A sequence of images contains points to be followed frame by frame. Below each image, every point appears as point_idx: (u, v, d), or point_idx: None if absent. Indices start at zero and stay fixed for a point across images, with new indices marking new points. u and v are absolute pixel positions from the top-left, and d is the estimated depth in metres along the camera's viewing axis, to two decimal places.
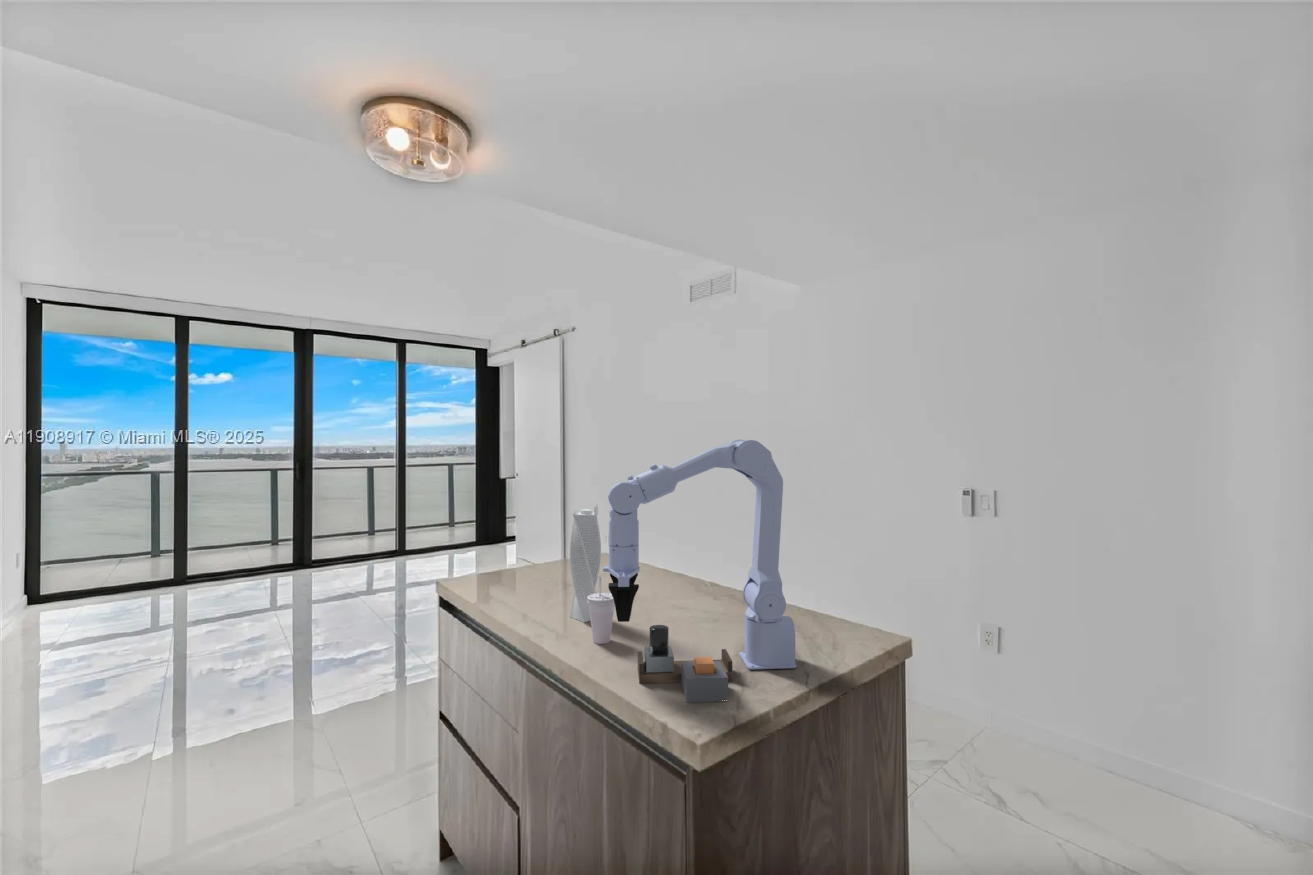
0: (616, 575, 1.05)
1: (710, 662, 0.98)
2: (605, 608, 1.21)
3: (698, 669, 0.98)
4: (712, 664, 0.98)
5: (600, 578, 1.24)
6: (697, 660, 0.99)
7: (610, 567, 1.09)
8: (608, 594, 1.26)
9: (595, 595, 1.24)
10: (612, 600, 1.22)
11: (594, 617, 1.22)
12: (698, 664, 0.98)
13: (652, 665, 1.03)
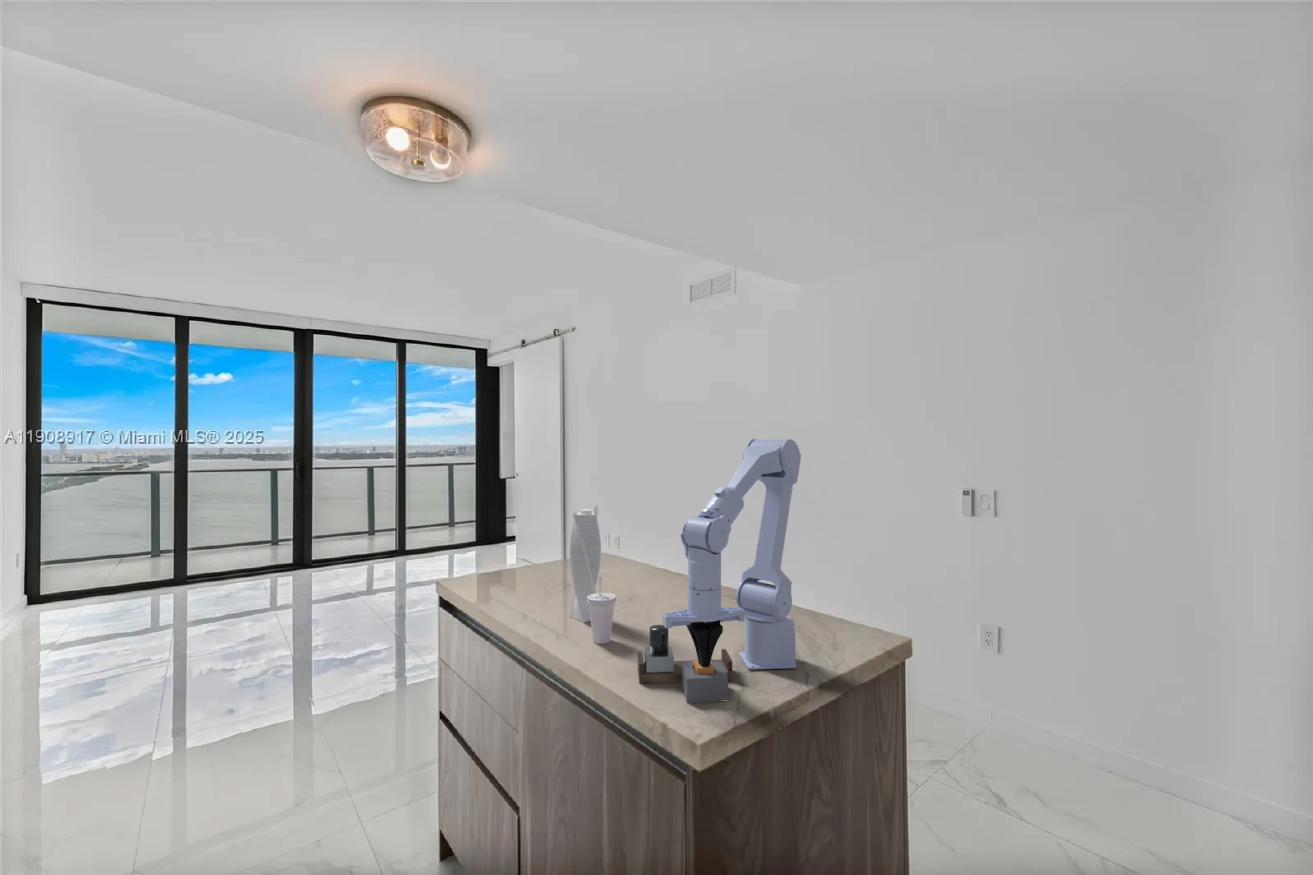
0: None
1: (710, 666, 0.98)
2: (605, 608, 1.21)
3: (698, 673, 0.98)
4: (712, 668, 0.98)
5: (600, 578, 1.24)
6: (697, 664, 0.99)
7: None
8: (608, 594, 1.26)
9: (595, 595, 1.24)
10: (612, 600, 1.22)
11: (594, 617, 1.22)
12: (698, 668, 0.98)
13: (652, 665, 1.03)
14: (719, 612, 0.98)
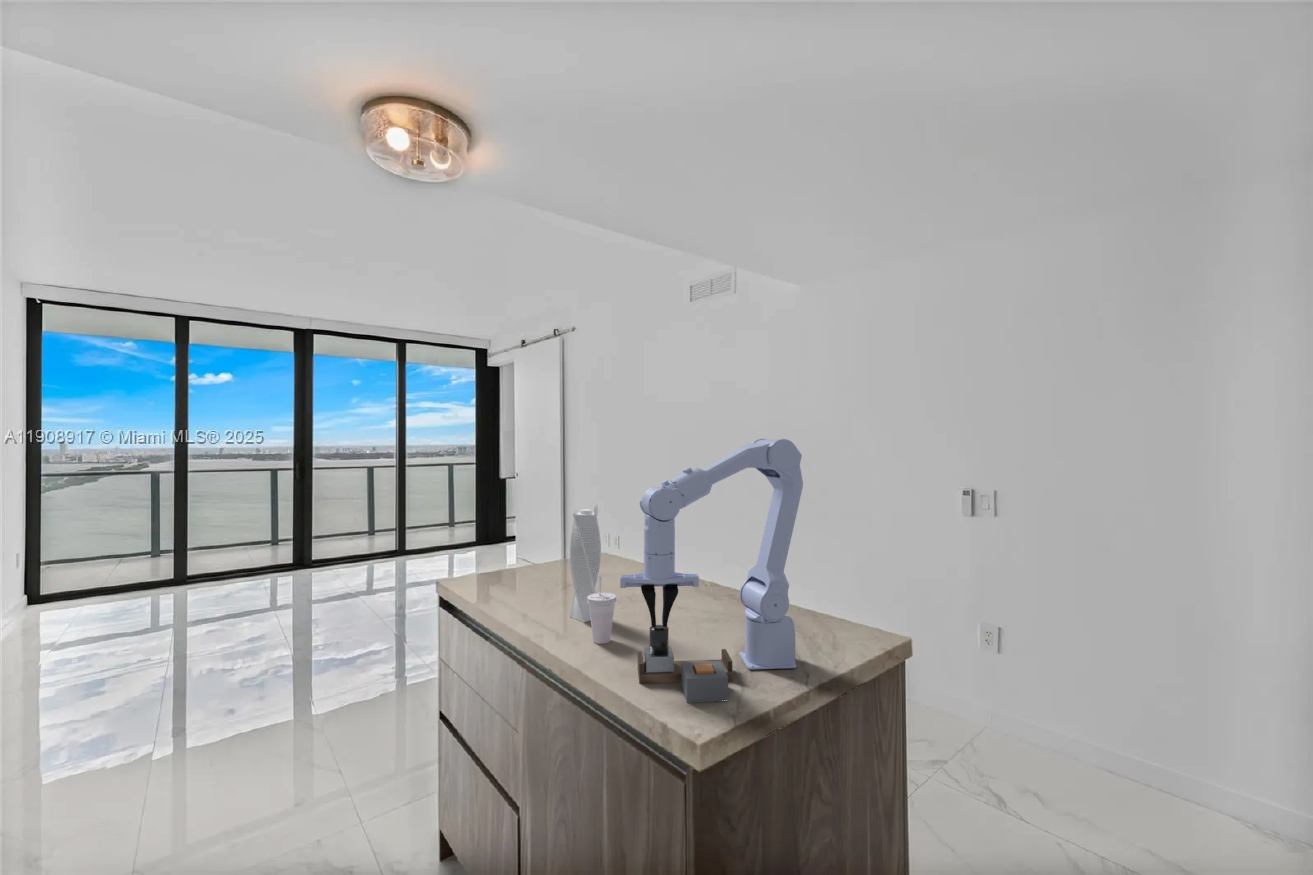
0: None
1: (710, 669, 0.98)
2: (605, 608, 1.21)
3: None
4: (712, 671, 0.98)
5: (600, 578, 1.24)
6: (697, 667, 0.99)
7: None
8: (608, 594, 1.26)
9: (595, 595, 1.24)
10: (612, 600, 1.22)
11: (594, 617, 1.22)
12: (698, 671, 0.98)
13: (652, 665, 1.03)
14: (671, 576, 1.04)
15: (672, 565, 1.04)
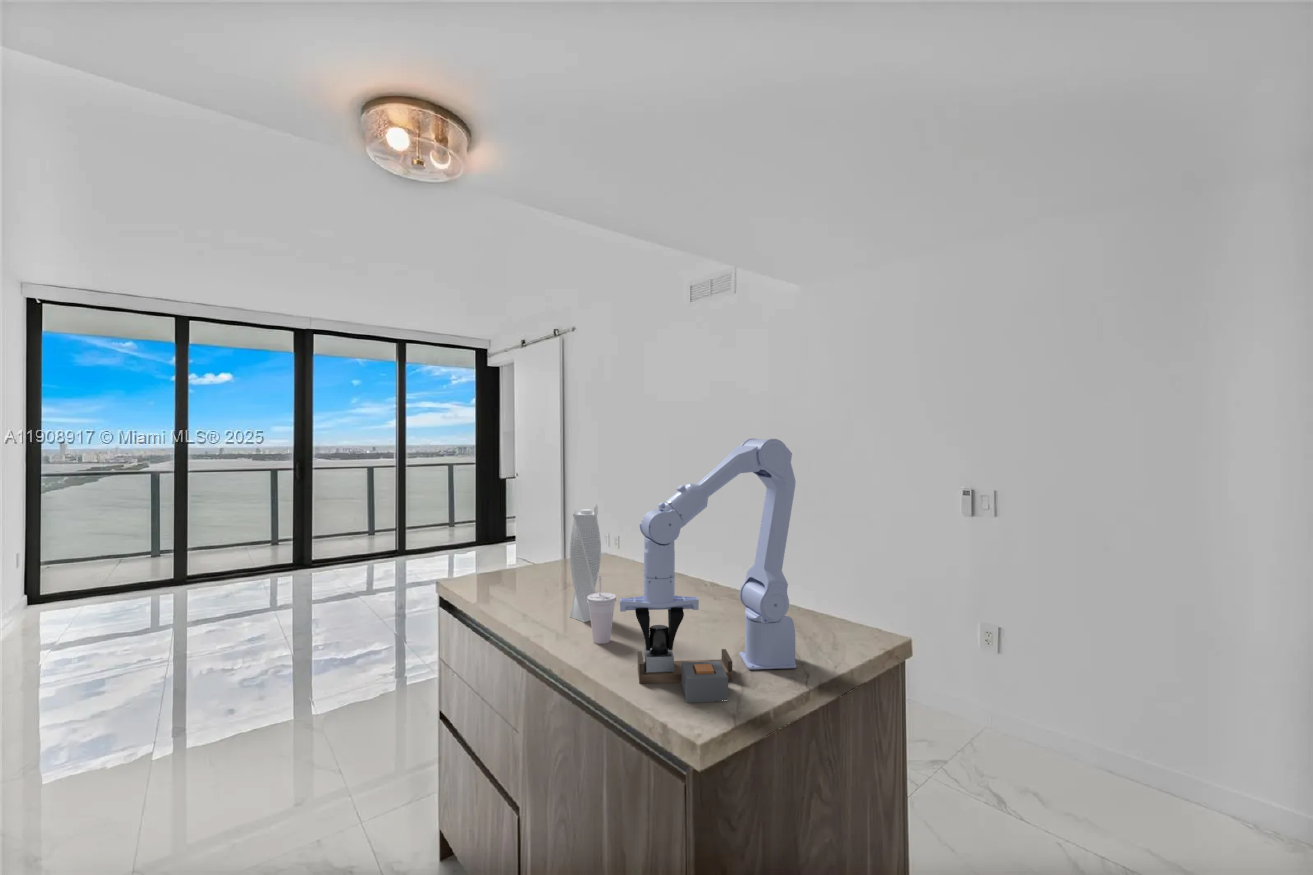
0: None
1: (710, 669, 0.98)
2: (605, 608, 1.21)
3: None
4: (712, 671, 0.98)
5: (600, 578, 1.24)
6: (697, 667, 0.99)
7: None
8: (608, 594, 1.26)
9: (595, 595, 1.24)
10: (612, 600, 1.22)
11: (594, 617, 1.22)
12: (698, 671, 0.98)
13: (652, 665, 1.03)
14: (671, 600, 1.04)
15: (672, 588, 1.04)
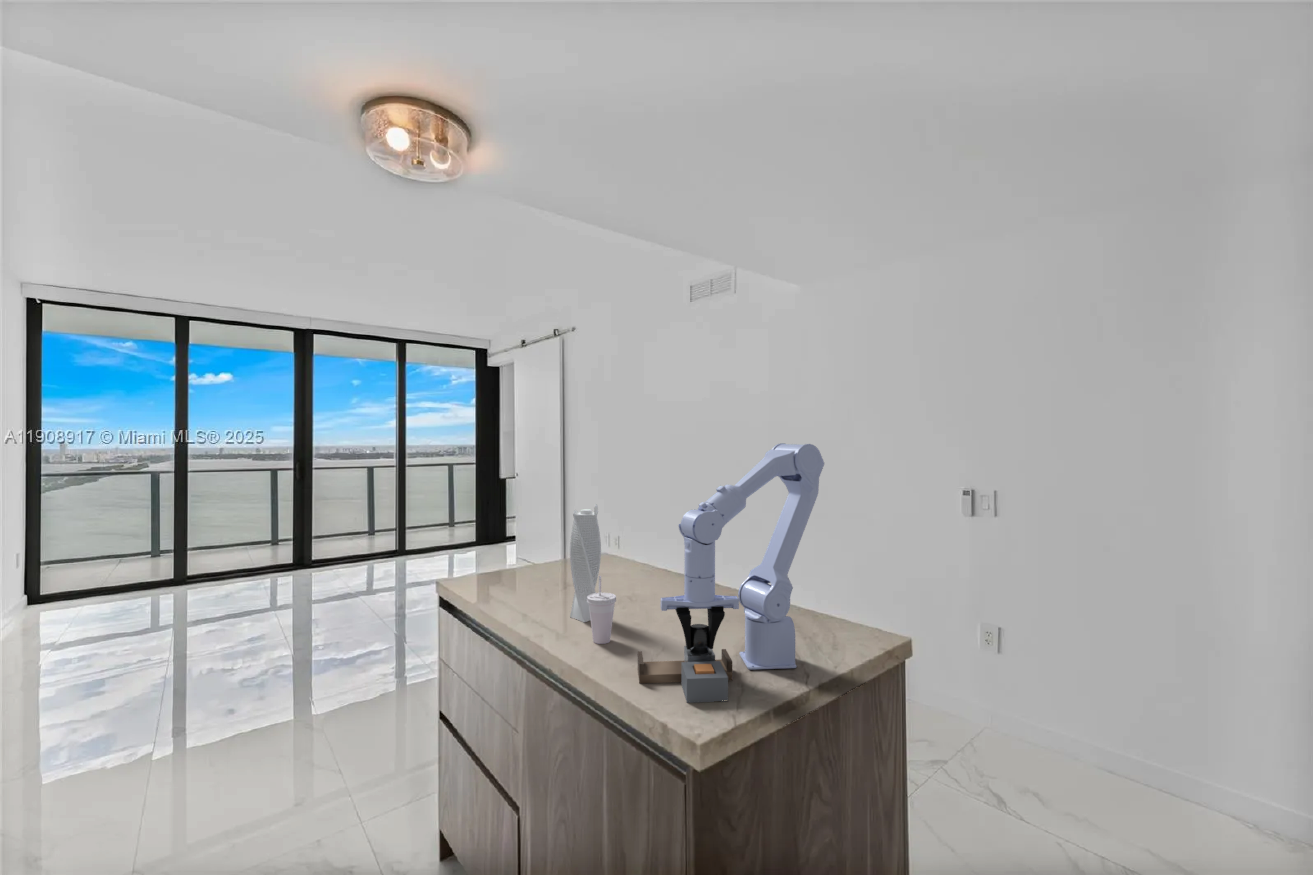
0: None
1: (710, 669, 0.98)
2: (605, 608, 1.21)
3: None
4: (712, 671, 0.98)
5: (600, 578, 1.24)
6: (697, 667, 0.99)
7: None
8: (608, 594, 1.26)
9: (595, 595, 1.24)
10: (612, 600, 1.22)
11: (594, 617, 1.22)
12: (698, 671, 0.98)
13: None
14: (712, 599, 1.05)
15: (713, 588, 1.05)
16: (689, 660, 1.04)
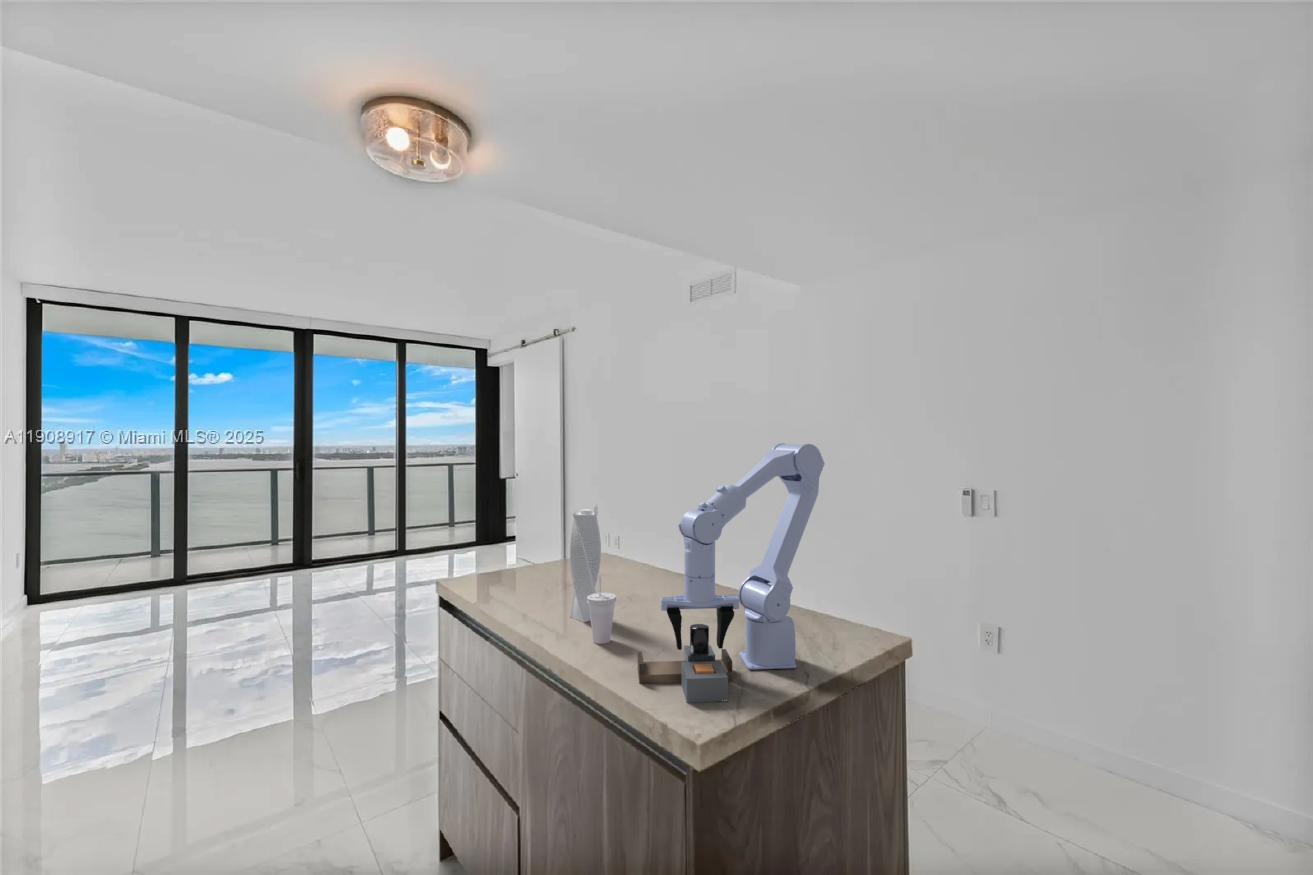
0: None
1: (710, 669, 0.98)
2: (605, 608, 1.21)
3: None
4: (712, 671, 0.98)
5: (600, 578, 1.24)
6: (697, 667, 0.99)
7: None
8: (608, 594, 1.26)
9: (595, 595, 1.24)
10: (612, 600, 1.22)
11: (594, 617, 1.22)
12: (698, 671, 0.98)
13: None
14: (712, 599, 1.05)
15: (713, 588, 1.05)
16: (689, 660, 1.04)
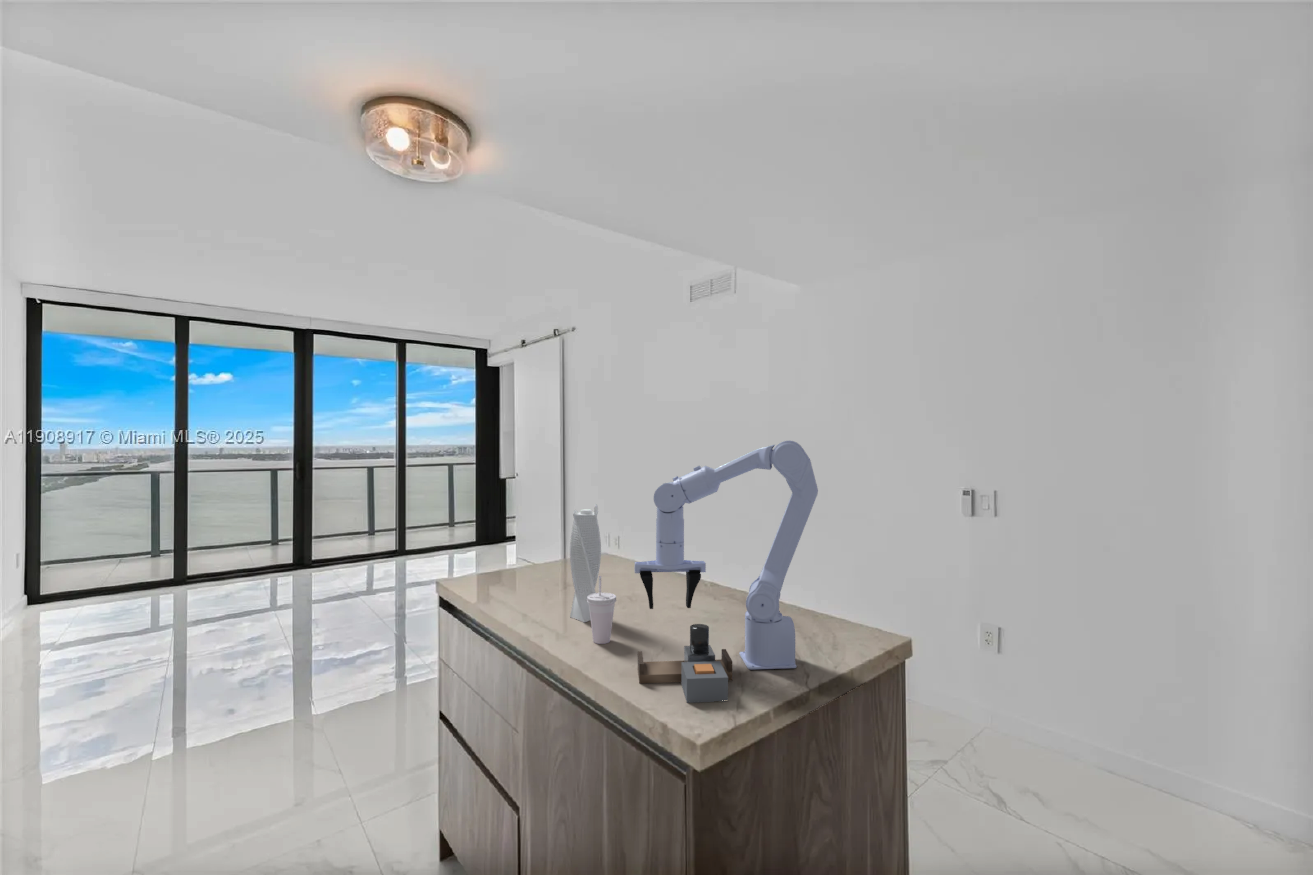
0: None
1: (710, 669, 0.98)
2: (605, 608, 1.21)
3: None
4: (712, 671, 0.98)
5: (600, 578, 1.24)
6: (697, 667, 0.99)
7: None
8: (608, 594, 1.26)
9: (595, 595, 1.24)
10: (612, 600, 1.22)
11: (594, 617, 1.22)
12: (698, 671, 0.98)
13: None
14: (680, 562, 1.15)
15: (682, 552, 1.16)
16: (689, 660, 1.04)
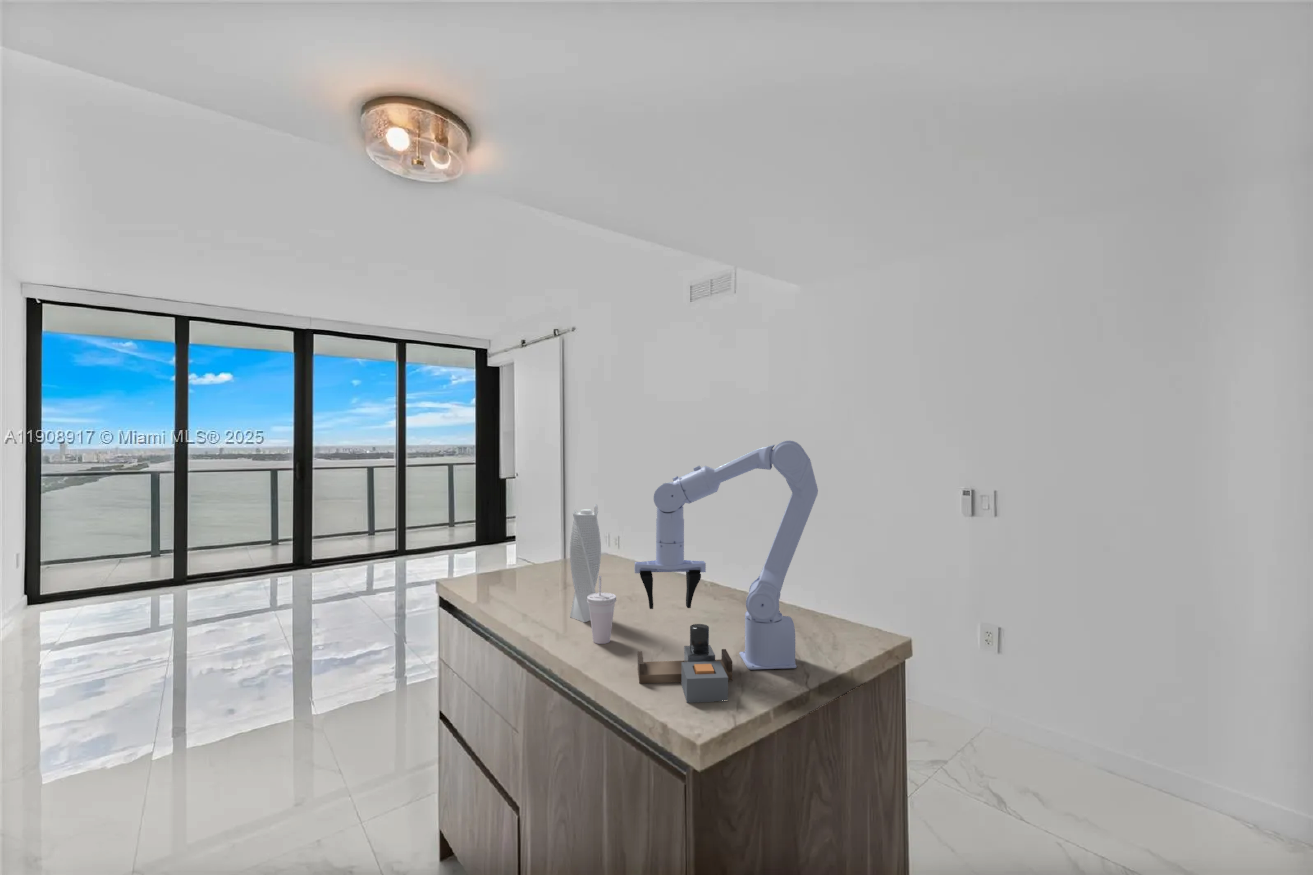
0: None
1: (710, 669, 0.98)
2: (605, 608, 1.21)
3: None
4: (712, 671, 0.98)
5: (600, 578, 1.24)
6: (697, 667, 0.99)
7: None
8: (608, 594, 1.26)
9: (595, 595, 1.24)
10: (612, 600, 1.22)
11: (594, 617, 1.22)
12: (698, 671, 0.98)
13: None
14: (680, 562, 1.15)
15: (682, 552, 1.16)
16: (689, 660, 1.04)
